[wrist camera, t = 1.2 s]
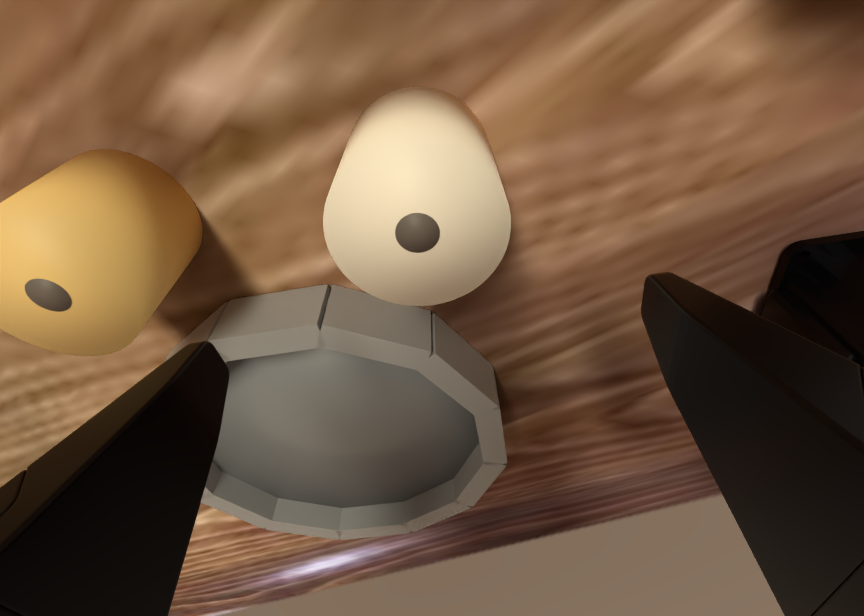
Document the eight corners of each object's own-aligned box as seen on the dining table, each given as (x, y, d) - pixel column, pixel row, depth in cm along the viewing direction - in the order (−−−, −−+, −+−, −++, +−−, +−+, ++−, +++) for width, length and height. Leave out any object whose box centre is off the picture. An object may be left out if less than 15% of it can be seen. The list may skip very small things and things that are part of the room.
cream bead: (481, 71, 14) (502, 121, 10) (495, 214, 17) (516, 292, 14) (328, 102, 15) (294, 160, 11) (368, 235, 18) (353, 317, 14)
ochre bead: (157, 136, 15) (68, 203, 12) (225, 259, 19) (173, 344, 15) (25, 163, 16) (-104, 235, 12) (113, 278, 19) (33, 365, 15)
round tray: (478, 260, 19) (485, 298, 17) (509, 482, 29) (515, 522, 27) (95, 320, 20) (59, 362, 18) (255, 510, 31) (244, 549, 29)
